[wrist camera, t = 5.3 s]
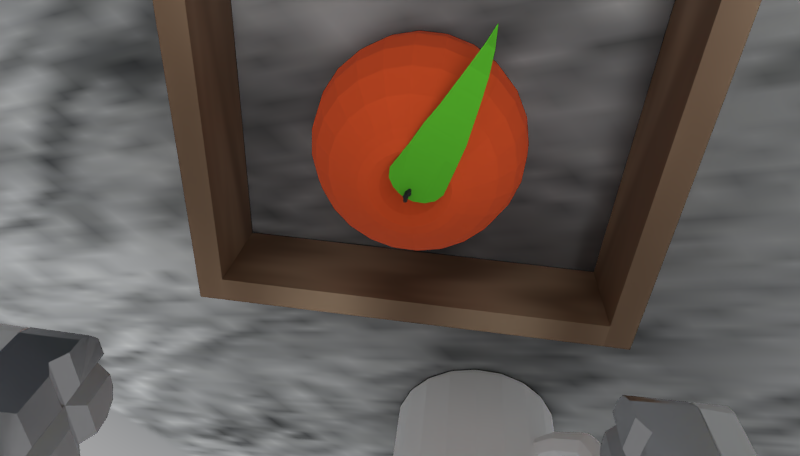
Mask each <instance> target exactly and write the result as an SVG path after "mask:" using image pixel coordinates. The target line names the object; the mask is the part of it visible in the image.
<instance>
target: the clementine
mask: <svg viewBox="0 0 800 456" xmlns="http://www.w3.org/2000/svg"><path fill="white" fill-rule="evenodd" d="M497 31H498V24H497V26H496V27H495V29H494V30H493V32H492V33H491V35H490V37H489V38H488V40H487V41H486V43H485V44H484V46H483V47H482V48H481V50H480V49H479V48H478V47H476V46H475V45H474V44H471V43H469V42H466V41H464V40H461V39H459V38H457V37H454V36H452V35H449V34H445V33H436V32H428V31H413V32H407V33H400V34H394V35H390V36H388V37H386V38H384V39H381V40H379V41H377V42H375V43H373V44H371V45H368V46H366V47H364V48H363V49H361V50H359V51H358V52H357V53H356V54H354V55H353V56H352V57H351V58H350V59H349V60H348V61H346V62H345V63H344V64H343V65H342V66H341V67H339V68H338V69H337V71H336V73H335V74H334V76H333V77H332V79H331V80H330V82H329V83H328V85H327V86H326V88H325V90H324V91H323V94H322V97H321V100H320V104H319V107H318V110H317V114H316V117H315V120H314V124H313V127H312V156H313V160H314V163H315V167H316V171H317V174H318V178H319V181H320V183H321V186H322V189H323V190H324V192H325V194H326V195H327V197H328V199H329V201H330V202H331V204H332V206H333V208H334V209H335V210H336V211H337V212H338V213H339V214H340V215H341V216H342V217H343V218H344V220H345V221H346V222H347V223H348V224H349V225H350V226H351V227H353V228H355V229H356V230H358V231H359V232H361V233H362V234H364V235H365V236H367V237H368V238H370V239H372V240H375V241H377V242H380V243H383V244H385V245H388V246H391V247H394V248H401V249H408V250H416V251H420V250H432V249H442V248H445V247H448V246H451V245H455V244H458V243H461V242H464V241H466V240H467V239H469V238H471V237H472V236H474V235H475V234H477V233H479V232H480V231H482V230H484V229H485V228H486V227H487V226H488V225H489V224H490V223H491V222H492V221H493V220H494V219H495V218H496V217H497V216H498V215H499V214H500V213H501V212H502V211H503V210H504V209H505V208H506V207H507V206H508V205H509V203H510V201H511V199H512V198H513V196H514V194H515V192H516V190H517V189H518V187H519V185H520V183H521V181H522V176H523V172H524V168H525V163H526V159H527V153H528V146H529V141H528V125H527V116H526V113H525V110H524V108H523V105H522V102H521V99H520V97H519V94H518V91H517V90H516V88H515V87H514V85H513V84H512V83H511V81H510V80H509V79H508V77H507V76H506V75H505V73H504V72H503V70H502V69H501V68H500V66H499V65H498V64H497V62H496V61H494V60H493V57H494V53H495V48H496V40H497Z"/></svg>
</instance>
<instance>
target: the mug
mask: <svg viewBox="0 0 800 456" xmlns="http://www.w3.org/2000/svg"><path fill="white" fill-rule="evenodd" d="M600 446H601V443H600V442H599V441H598V440H597V439H596V438H594V437H593V436H592V435H591V434H589V433H573V432H554V427H553V420H552V414H551V413H550V411H549V409H548V408H547V406H546V405H545V403H544V401H543V400H542V398H541V397H540V396H539V395H538V394H537V393H535V392H534V391H533V390H532V389H530V388H529V387H528V386H526V385H525V384H524V383H522V382H520V381H517V380H515V379H513V378H510V377H508V376H505V375H503V374H500V373H494V372H487V371H481V370H463V371H450V372H447V373H444V374H441V375H438V376H434V377H431V378H428V379H427V380H426V381H424V382H423V383H421V384H420V385H418V386H417V387H415V388H414V389H412V390H411V392H410V393H409V395H408V396H407V398H406V399H405V401H404V402H403V403H402V405H401V406H400V413H399V419H398V426H397V433H396V440H395V447H394V453H393V456H600Z"/></svg>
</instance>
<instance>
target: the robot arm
mask: <svg viewBox="0 0 800 456" xmlns="http://www.w3.org/2000/svg"><path fill="white" fill-rule="evenodd" d="M103 354H104V353H103V350H102V347H101V345H100V342H99V339H98V338H96V337H92V336H89V335H82V334H75V333H68V332H60V331H53V330H46V329H39V328H32V327H30V328H28V327H20V326H13V325H6V324H0V456H80V449H79V444H80V443H82V442H83V441H85V440H86V439H88V438H90V437H91V436H93V435H95V434H96V433H97V432H98V431H99V429H100V427H101V426H102V424H103V423H104V421H105V420H106V418H107V416H108V413H109V409H110V406H111V403H112V400H113V383H112V380H111V376H110V374H109V373H108V372H107V371H106V370H105V369H104V368H103V367H102V366H101V365H99V364H98V361H99V360H100V359H101V357H102V356H103ZM613 415H614V419H615V423H616V425H615V426H614V427H612V428H611V429H609V430H607V431H606V432H605V434H604V437H603V440H602V443H601V446H600V456H757V454H756V452H755V450H754V448H753V447H752V445H751V443H750V441H749V439H748V437H747V435H746V433H745V431H744V429H743V428H742V426H741V424H740V422H739V420H738V418H737V416H736V414H735V413H734V411H732V410H731V409H730V408H729V407H728V406H723V405H713V404H704V403H694V402H692V403H689V402H686V401H676V400H666V399H656V398H646V397H637V396H627V395H622V396H621V397H620V398H619V399H618V400H617V402H616V405H615V407H614V410H613Z"/></svg>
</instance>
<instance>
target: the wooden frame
mask: <svg viewBox="0 0 800 456" xmlns="http://www.w3.org/2000/svg"><path fill="white" fill-rule="evenodd" d="M761 1H762V0H675V3H674V6H673V10H672V13H671V16H670V20H669V23H668V26H667V30H666V33H665V36H664V40H663V43H662V46H661V50H660V53H659V56H658V60H657V63H656V66H655V70H654V73H653V76H652V80H651V83H650V86H649V90H648V93H647V96H646V100H645V103H644V106H643V110H642V113H641V116H640V119H639V123H638V126H637V129H636V133H635V136H634V139H633V143H632V146H631V149H630V153H629V156H628V159H627V163H626V166H625V169H624V173H623V176H622V179H621V183H620V186H619V189H618V193H617V196H616V199H615V203H614V206H613V209H612V213H611V216H610V219H609V223H608V226H607V229H606V233H605V236H604V239H603V243H602V246H601V249H600V253H599V256H598V259H597V263H596V266H595V269H594V272H589V271H580V270H572V269H563V268H554V267H546V266H537V265H528V264H520V263H511V262H502V261H494V260H485V259H476V258H468V257H459V256H450V255H441V254H433V253H424V252H415V251H407V250H398V249H389V248H381V247H372V246H363V245H355V244H346V243H337V242H329V241H320V240H311V239H303V238H294V237H285V236H277V235H268V234H259V233H252V224H251V213H250V203H249V192H248V181H247V171H246V160H245V149H244V139H243V128H242V117H241V106H240V96H239V85H238V74H237V64H236V53H235V42H234V32H233V21H232V10H231V0H153V6H154V12H155V18H156V24H157V30H158V36H159V43H160V49H161V55H162V61H163V67H164V73H165V79H166V86H167V92H168V98H169V104H170V110H171V116H172V123H173V129H174V135H175V141H176V147H177V153H178V159H179V166H180V172H181V178H182V184H183V190H184V196H185V202H186V209H187V215H188V221H189V227H190V233H191V239H192V245H193V252H194V258H195V264H196V270H197V276H198V282H199V289H200V295H201V297H209V298H217V299H225V300H234V301H242V302H250V303H258V304H266V305H274V306H282V307H290V308H298V309H306V310H314V311H322V312H331V313H339V314H347V315H355V316H363V317H371V318H379V319H387V320H395V321H403V322H411V323H419V324H427V325H436V326H444V327H452V328H460V329H468V330H476V331H484V332H492V333H500V334H508V335H516V336H524V337H532V338H541V339H549V340H557V341H565V342H573V343H581V344H589V345H597V346H605V347H613V348H621V349H629V350H630V348H631V346H632V343H633V340H634V338H635V335H636V332H637V330H638V327H639V324H640V322H641V319H642V316H643V314H644V311H645V308H646V306H647V303H648V300H649V298H650V295H651V292H652V290H653V287H654V285H655V282H656V279H657V277H658V274H659V271H660V269H661V266H662V263H663V261H664V258H665V255H666V253H667V250H668V247H669V245H670V242H671V239H672V237H673V234H674V231H675V229H676V226H677V224H678V221H679V218H680V216H681V213H682V210H683V208H684V205H685V202H686V200H687V197H688V194H689V192H690V189H691V186H692V184H693V181H694V178H695V176H696V173H697V170H698V168H699V165H700V163H701V160H702V157H703V155H704V152H705V149H706V147H707V144H708V141H709V139H710V136H711V133H712V131H713V128H714V125H715V123H716V120H717V117H718V115H719V112H720V109H721V107H722V104H723V102H724V99H725V96H726V94H727V91H728V88H729V86H730V83H731V80H732V78H733V75H734V72H735V70H736V67H737V64H738V62H739V59H740V56H741V54H742V51H743V48H744V46H745V43H746V41H747V38H748V35H749V33H750V30H751V27H752V25H753V22H754V19H755V17H756V14H757V11H758V9H759V6H760V3H761Z"/></svg>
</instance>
